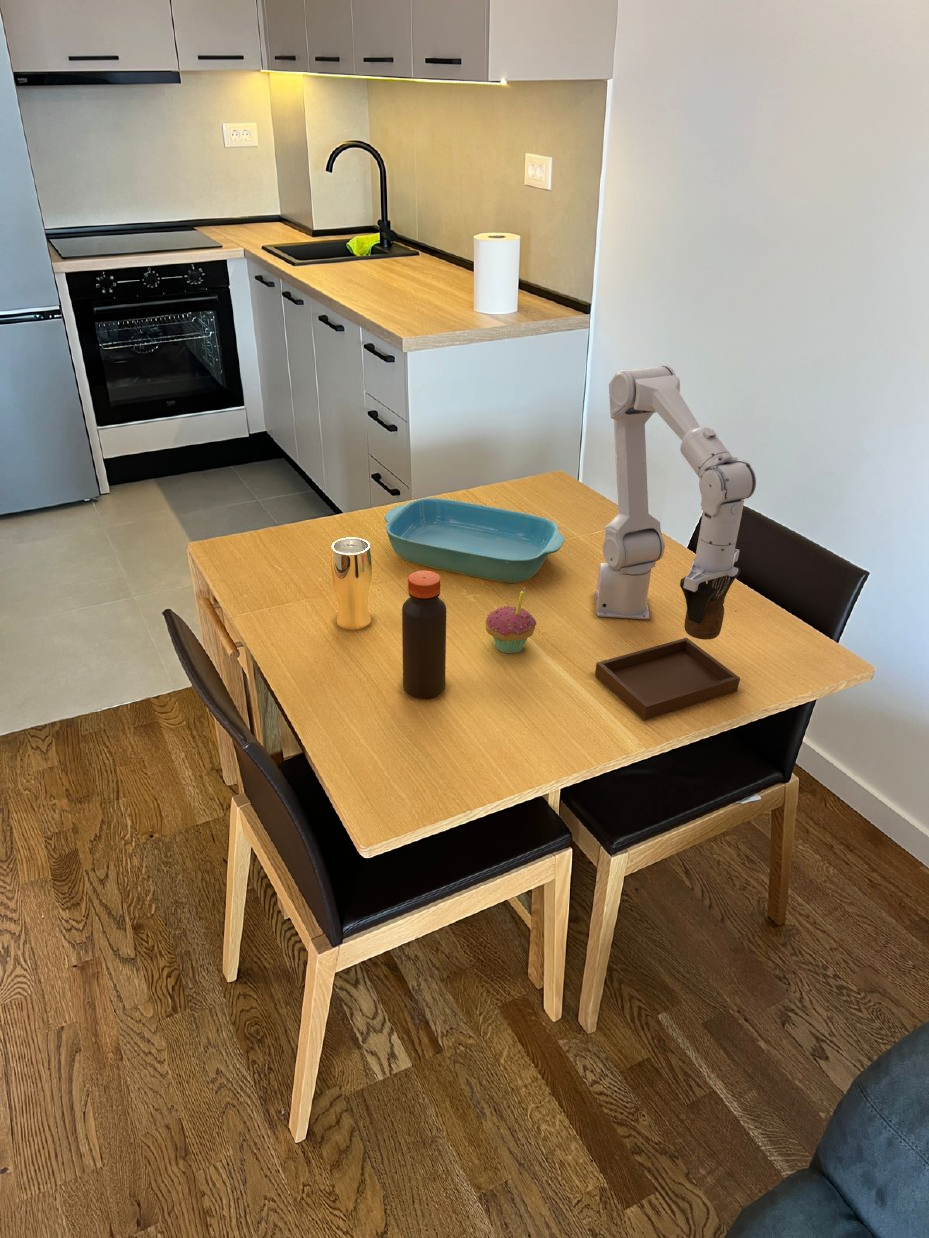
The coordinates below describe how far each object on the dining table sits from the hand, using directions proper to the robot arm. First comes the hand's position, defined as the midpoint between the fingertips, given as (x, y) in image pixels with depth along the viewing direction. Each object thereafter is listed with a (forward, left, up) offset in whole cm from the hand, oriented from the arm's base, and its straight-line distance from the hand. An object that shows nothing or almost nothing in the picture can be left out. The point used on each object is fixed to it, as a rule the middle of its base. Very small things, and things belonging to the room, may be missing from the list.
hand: (704, 613), depth 153 cm
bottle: (-44, -12, -11) cm, 47 cm away
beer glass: (-59, +7, -11) cm, 61 cm away
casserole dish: (-40, +35, -11) cm, 55 cm away
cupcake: (-31, +2, -11) cm, 33 cm away
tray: (-5, -6, -10) cm, 13 cm away
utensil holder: (0, 0, -4) cm, 4 cm away
